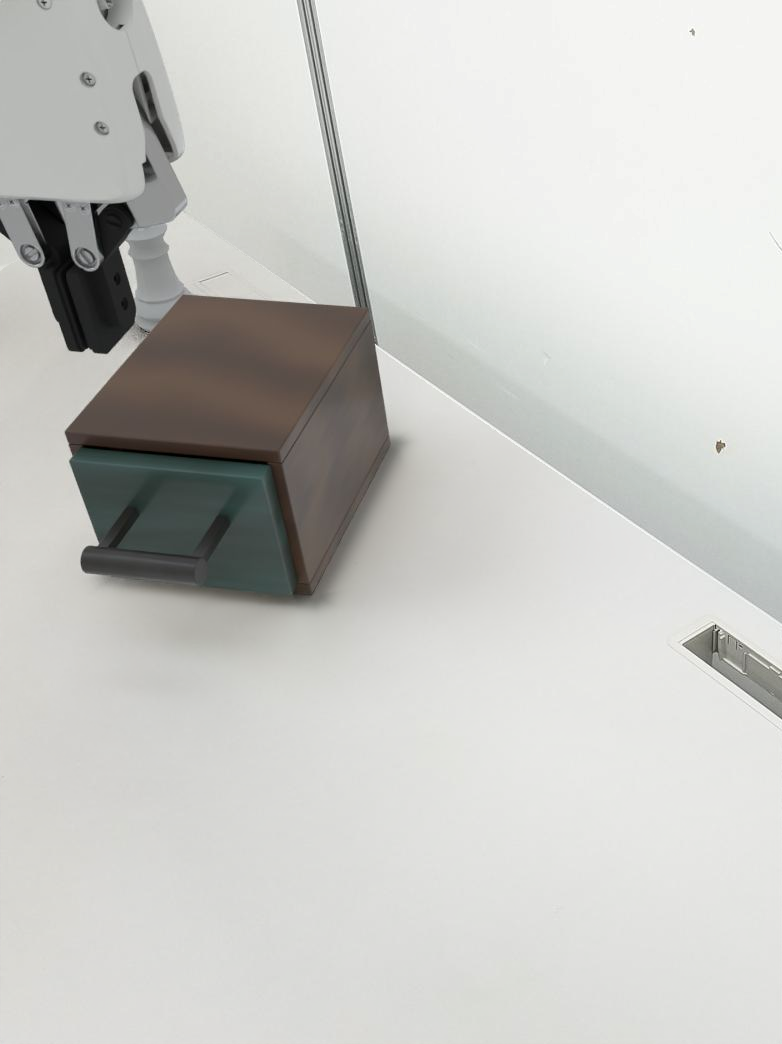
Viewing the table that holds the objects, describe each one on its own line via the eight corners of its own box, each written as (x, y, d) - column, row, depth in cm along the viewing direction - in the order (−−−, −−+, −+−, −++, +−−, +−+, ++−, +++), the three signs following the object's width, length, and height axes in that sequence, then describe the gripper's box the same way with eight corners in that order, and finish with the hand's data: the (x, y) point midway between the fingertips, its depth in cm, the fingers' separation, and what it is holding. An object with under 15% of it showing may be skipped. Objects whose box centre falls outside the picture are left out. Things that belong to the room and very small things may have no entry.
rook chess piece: (177, 340, 90) (148, 234, 85) (123, 330, 91) (92, 226, 86) (211, 310, 93) (185, 206, 88) (159, 301, 94) (130, 199, 89)
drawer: (258, 657, 64) (224, 537, 59) (69, 635, 66) (20, 517, 61) (368, 452, 78) (349, 340, 73) (209, 438, 79) (179, 327, 74)
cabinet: (312, 595, 69) (279, 450, 63) (114, 574, 71) (63, 431, 65) (390, 444, 80) (369, 307, 74) (217, 428, 82) (182, 293, 75)
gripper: (200, -144, 46) (292, 308, 59) (-168, -151, 48) (-6, 286, 61) (106, -91, 41) (228, 396, 53) (-305, -101, 43) (-97, 369, 55)
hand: (103, 336), depth 57 cm, fingers closed
